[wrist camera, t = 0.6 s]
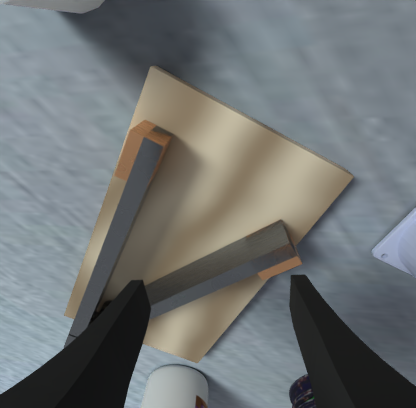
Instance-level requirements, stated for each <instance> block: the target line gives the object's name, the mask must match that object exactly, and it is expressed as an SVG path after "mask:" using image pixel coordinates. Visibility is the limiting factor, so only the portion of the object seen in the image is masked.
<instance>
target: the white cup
mask: <svg viewBox="0 0 416 408" xmlns="http://www.w3.org/2000/svg"><path fill="white" fill-rule="evenodd" d="M104 1H105V0H0V4H6V5H14V6H22V7H31V8H39V9H47V10H55V11H64V12H72V13H80V14H83V13H86V12H88V11H91V10H94V9H96V8H99V7H100V5H101V4H102V3H103V2H104Z"/></svg>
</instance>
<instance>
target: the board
mask: <svg viewBox="0 0 416 408" xmlns="http://www.w3.org/2000/svg"><path fill="white" fill-rule="evenodd" d="M144 120H147V121H149V122H151V123H153V124H155V125H157V126H159V127H161V128H163V129H165V130H167V131H169V132H171V133H173V136H172V139H171V141H170V143H169V146H168V148H167V150H166V153H165V155H164V157H163V159H162V162H161V164H160V166H159V169H158V171H157V173H156V176H155V178H154V180H153V182H152V185H151V187H150V189H149V192H148V194H147V196H146V199H145V201H144V203H143V206H142V208H141V210H140V212H139V215H138V217H137V219H136V222H135V224H134V226H133V229H132V231H131V233H130V235H129V238H128V240H127V242H126V245H125V247H124V249H123V252H122V254H121V256H120V259H119V261H118V263H117V265H116V268H115V270H114V272H113V275H112V277H111V279H110V282H109V284H108V286H107V289H106V291H105V293H104V295H103V298H102V300H101V302H100V305H99V307H98V309H97V311H96V312H99V311H100V309H101V307H102V306H103V304H104V302H106V301H113V300H114V299H115V298H116V296H117V295H118V294H119V293H120V292H121V291H122V290H123V288H124V287H125V286H126V285H127V284H128V283H129V282H130V281H131V280H143V282H144V285H147V284H149V283H151V282H153V281H155V280H157V279H159V278H161V277H163V276H165V275H167V274H169V273H171V272H174V271H176V270H178V269H180V268H182V267H184V266H186V265H188V264H190V263H192V262H194V261H196V260H198V259H200V258H202V257H204V256H206V255H208V254H210V253H213V252H215V251H217V250H219V249H221V248H223V247H225V246H227V245H229V244H231V243H233V242H235V241H237V240H239V239H241V238H243V237H245V236H247V235H249V234H252V233H254V232H256V231H258V230H260V229H262V228H264V227H266V226H268V225H270V224H272V223H274V222H276V221H278V220H280V219H281V220H282V222H283V223H284V225H285V226H286V228H287V230H288V231H289V233H290V235H291V236H292V238H293V240H294V243H295V246H296V245H297V244H298V243H299V242H300V241H301V239H302V238H303V237H304V236H305V235H306V233H307V232H308V231H309V230H310V229H311V227H312V226H313V225H314V224H315V223H316V221H317V220H318V219H319V218H320V217H321V216H322V214H323V213H324V212H325V211H326V210H327V208H328V207H329V206H330V205H331V204H332V202H333V201H334V200H335V199H336V198H337V196H338V195H339V194H340V193H341V192H342V190H343V189H344V188H345V187H346V186H347V185H348V183H349V182H350V181H351V180H352V179H353V177H354V176H353V175H352V174H351V173H350V172H348V171H347V170H346V169H345V168H343V167H341V166H339V165H338V164H336V163H334V162H332V161H330V160H328V159H327V158H325V157H323V156H321V155H319V154H317V153H316V152H314V151H312V150H310V149H308V148H306V147H305V146H303V145H301V144H299V143H297V142H295V141H294V140H292V139H290V138H288V137H286V136H284V135H283V134H281V133H279V132H277V131H275V130H273V129H272V128H270V127H268V126H266V125H264V124H262V123H260V122H259V121H257V120H255V119H253V118H251V117H249V116H248V115H246V114H244V113H242V112H240V111H238V110H237V109H235V108H233V107H231V106H229V105H227V104H226V103H224V102H222V101H220V100H218V99H216V98H215V97H213V96H211V95H209V94H207V93H205V92H204V91H202V90H200V89H198V88H196V87H194V86H193V85H191V84H189V83H187V82H185V81H183V80H182V79H180V78H178V77H176V76H174V75H172V74H171V73H169V72H167V71H165V70H163V69H161V68H160V67H158V66H150V69H149V72H148V75H147V78H146V81H145V84H144V86H143V89H142V92H141V95H140V98H139V101H138V104H137V107H136V109H135V112H134V115H133V118H132V121H131V124H130V127H129V130H128V133H127V135H126V138H125V141H124V144H123V147H122V150H121V153H120V156H119V158H118V161H117V164H116V167H115V170H114V173H113V176H112V179H111V182H110V184H109V187H108V190H107V193H106V196H105V199H104V202H103V205H102V208H101V210H100V213H99V216H98V219H97V222H96V225H95V228H94V231H93V233H92V236H91V239H90V242H89V245H88V248H87V251H86V254H85V257H84V259H83V262H82V265H81V268H80V271H79V274H78V277H77V280H76V282H75V285H74V288H73V291H72V294H71V297H70V300H69V303H68V306H67V308H66V311H65V314H64V316H67V317H70V318H72V319H75V316H76V314H77V311H78V309H79V306H80V303H81V301H82V298H83V295H84V293H85V290H86V287H87V285H88V282H89V280H90V277H91V274H92V272H93V269H94V266H95V264H96V261H97V259H98V256H99V253H100V251H101V248H102V245H103V243H104V240H105V238H106V235H107V232H108V230H109V227H110V224H111V222H112V219H113V216H114V214H115V211H116V209H117V206H118V203H119V201H120V198H121V195H122V193H123V190H124V188H125V185H126V182H127V181H125V180H122V179H120V178H118V177H116V176H114V174H115V171H116V169H117V166H118V163H119V160H120V157H121V154H122V151H123V149H124V146H125V143H126V140H127V137H128V134H129V131H130V130H131V129H132V128H133V127H135V126H136V125H138V124H139V123H141V122H142V121H144ZM268 279H269V278H268ZM268 279H265V280H262V279H261V278H260V276H259V275H258V274H257V273H256V274H254V275H252V276H250V277H247V278H245V279H243V280H240V281H238V282H236V283H233V284H231V285H229V286H226V287H224V288H222V289H219V290H217V291H215V292H213V293H210V294H208V295H206V296H203V297H201V298H199V299H196V300H194V301H192V302H189V303H187V304H185V305H182V306H180V307H178V308H176V309H173V310H171V311H169V312H166V313H164V314H162V315H159V316H157V317H155V318H152V319H150V320H149V323H148V327H147V331H146V334H145V337H144V340H143V343H142V344H145V345H148V346H151V347H153V348H156V349H159V350H162V351H164V352H167V353H170V354H173V355H176V356H178V357H181V358H184V359H187V360H190V361H192V362H195V363H198V362H199V361H200V360H201V359H202V357H203V356H204V355H205V354H206V353H207V352H208V350H209V349H210V348H211V347H212V346H213V344H214V343H215V342H216V341H217V340H218V338H219V337H220V336H221V335H222V334H223V332H224V331H225V330H226V329H227V328H228V326H229V325H230V324H231V323H232V322H233V321H234V319H235V318H236V317H237V316H238V315H239V313H240V312H241V311H242V310H243V309H244V307H245V306H246V305H247V304H248V303H249V301H250V300H251V299H252V298H253V297H254V295H255V294H256V293H257V292H258V291H259V289H260V288H261V287H262V286H263V285H264V284H265V282H266V281H267V280H268Z"/></svg>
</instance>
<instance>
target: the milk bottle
mask: <svg viewBox="0 0 416 408" xmlns="http://www.w3.org/2000/svg"><path fill="white" fill-rule="evenodd" d="M141 408H208V383H207V381H206V378H205V377H204V376H203V375H202V374H201V373H200V372H198V371H196V370H195V369H192V368H190V367H186V366H181V365H166V366H162V367H160V368H157V369H156V370H154V371H153V372H152V373H151V375H150V376H149V378H148V381H147V385H146V389H145V393H144V397H143V401H142V405H141Z"/></svg>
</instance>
